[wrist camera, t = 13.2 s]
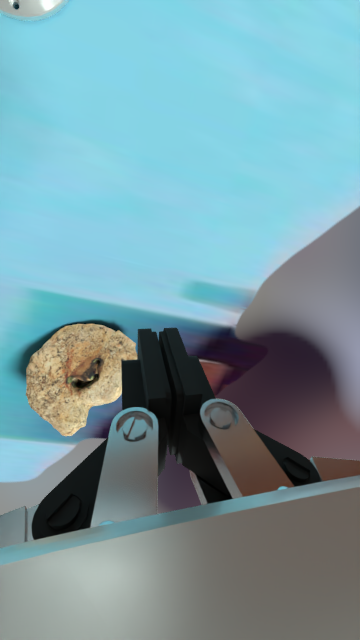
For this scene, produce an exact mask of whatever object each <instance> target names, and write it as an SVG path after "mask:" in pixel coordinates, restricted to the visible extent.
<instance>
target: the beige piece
mask: <svg viewBox="0 0 360 640" xmlns="http://www.w3.org/2000/svg"><path fill="white" fill-rule="evenodd" d="M135 346H136V344H135V343H134V342H133V341H132V340H130V339H129V338H128V337H127V336H125V335H124V334H123V333H122V332H120V331H119V330H118V331H116V332H115V331H114V330H112V329H111V328H107V327H106V326H104V325H95V324H86V325H85V324H76V325H72V326H71V325H69V326H65V327H64V328H62V329H60V330H59V331H57V332H56V333H55V334H54V335H53V336H52V337H51V338H50V339H49V340H48V341H47V342H46V343H45V344H44V345H43V347H42V348H41V349H40V350H38V351H37V352H35V353H34V354H33V355H32V356H31V358H30V362H29V365H28V367H27V369H26V372H27V375H26V378H27V391H26V396H27V398H28V402H29V405H30V407H31V408H32V409H33V410H35V411H36V412H37V413H38V414H39V415H40V416H41V417H42V418H43V419H44V420H46V421H49V423H50V424H52V425H53V427H54V428H55V429H57V430H58V431H59V432H60V433H61V434H62V435H63V436H68V435H69V436H72V435H73V434H74V433H75V432H76V431H77V430H78V429H80V428H81V427H85V425H86V418H87V415H88V411H89V409H90V408H91V407H92V406H97V405H101V404H108V403H111V402H113V401H115V400H116V399H117V398H118V397H119V396H120V395H121V392H122V371H121V360H137V359H138V355H137V353H136V351H135Z"/></svg>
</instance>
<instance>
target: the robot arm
mask: <svg viewBox="0 0 360 640" xmlns="http://www.w3.org/2000/svg"><path fill="white" fill-rule="evenodd" d="M68 1H69V0H0V13H1V14H3V15H5V16H7V17H10V18H14V19H18V20H21V21H39V20H43V19H46V18H49V17H51V16H53V15H54V14H56V13H58V12H59V11H60V10H61V9H62V8H63V7H64V6H65V5H66V4H67V3H68ZM15 4H18V5H19V8H18V9H17V10H15V8H14V6H15ZM121 371H122V409H123V411H121V412H120V413H118V414H117V415H116V417H115V418H114V419H113V421H112V424H111V427H110V432H109V437H108V438H107V439H106V440H105V441H104V442H103V443H102V444H101V445H100V446H99V447H98V448H97V449H95V450H94V451H93V452H92V453H91V454H90V455H89V456H88V457H87V458H86V459H85V460H84V461H83V462H82V463H81V464H80V465H78V466H77V467H76V468H75V469H74V470H73V471H72V472H71V473H70V474H69V475H68V476H67V477H66V478H65V479H64V480H63V481H62V482H60V483H59V484H58V486H56V487H55V488H54V489H53V490H52V491H51V492H50V493H49V494H48V495H47V496H46V497H45V498H44V499H43V500H42V502H41V503H40V504H38V505H36V506H33V507H31V508H28V509H26V506H24V507H21V508H18V509H16V510H13V511H11V512H8V513H5V514H3V515H0V640H360V461H359V460H347V459H335V458H324V457H311V459H310V460H308V459H307V458H306V457H304V456H303V455H301V454H300V453H298V452H296V451H294V450H292V449H290V448H288V447H287V446H285V445H283V444H281V443H279V442H277V441H275V440H273V439H271V438H270V437H268V436H266V435H264V434H262V433H260V432H258V431H256V430H255V429H253V428H252V426H251V425H250V423H249V422H248V421H247V419H246V418H245V416H244V415H243V414H242V412H241V411H240V410H239V408H237V406H236V405H234V404H233V403H231V402H229V401H227V400H224V399H216V398H215V396H214V393H213V391H212V389H211V387H210V384H209V382H208V380H207V377H206V375H205V373H204V371H203V368H202V366H201V364H200V362H199V359H198V357H197V356H188V355H187V352H186V350H185V347H184V344H183V342H182V339H181V337H180V334H179V332H178V329H177V328H164V331H163V332H159V342H158V338H157V333H156V332H152V331H151V329H138V359H137V360H121ZM167 445H168V447H169V452H170V455H175V457H176V461H177V463H182V465H183V466H185V467H186V468H188V469H189V470H190V475H191V478H192V481H193V484H194V486H195V489H196V491H197V493H198V496H199V499H200V501H201V503H202V505H200V506H195V507H190V508H186V509H181V510H175V511H170V512H166V513H161V514H157V495H158V491H157V489H158V476H159V475H160V473H161V472H162V471H163V469H164V468H165V458H166V455H167Z"/></svg>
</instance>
